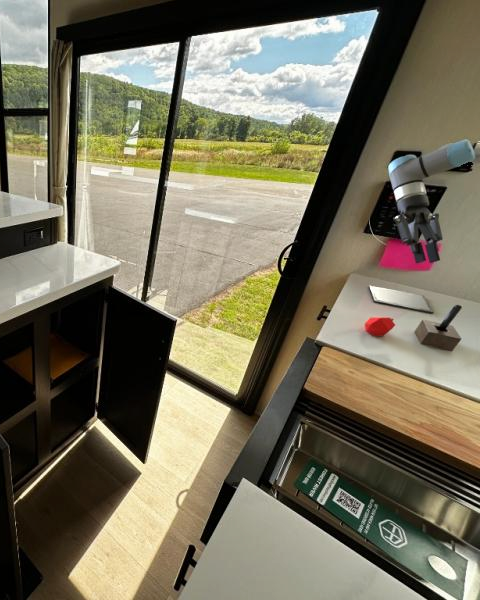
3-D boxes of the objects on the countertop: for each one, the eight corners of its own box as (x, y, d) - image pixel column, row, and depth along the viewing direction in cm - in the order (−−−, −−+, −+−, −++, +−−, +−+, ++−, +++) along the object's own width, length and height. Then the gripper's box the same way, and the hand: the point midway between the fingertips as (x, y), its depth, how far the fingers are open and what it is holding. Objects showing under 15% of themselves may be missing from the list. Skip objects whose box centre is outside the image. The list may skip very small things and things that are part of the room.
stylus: (434, 340, 103) (461, 304, 96) (436, 343, 102) (464, 306, 95) (428, 338, 104) (454, 303, 97) (430, 341, 103) (457, 305, 96)
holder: (444, 337, 104) (453, 325, 101) (451, 351, 99) (461, 339, 96) (414, 331, 107) (422, 319, 104) (420, 344, 102) (429, 331, 99)
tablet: (422, 296, 124) (424, 295, 124) (432, 313, 115) (434, 312, 114) (368, 286, 132) (369, 285, 131) (373, 302, 122) (374, 300, 122)
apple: (376, 326, 102) (402, 317, 101) (358, 317, 108) (383, 308, 107) (377, 343, 104) (403, 334, 103) (360, 333, 110) (384, 325, 109)
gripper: (424, 203, 115) (441, 264, 110) (377, 205, 115) (391, 265, 110) (447, 192, 108) (466, 257, 103) (396, 193, 108) (413, 258, 103)
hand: (427, 261), depth 107 cm, fingers open, 4 cm apart
